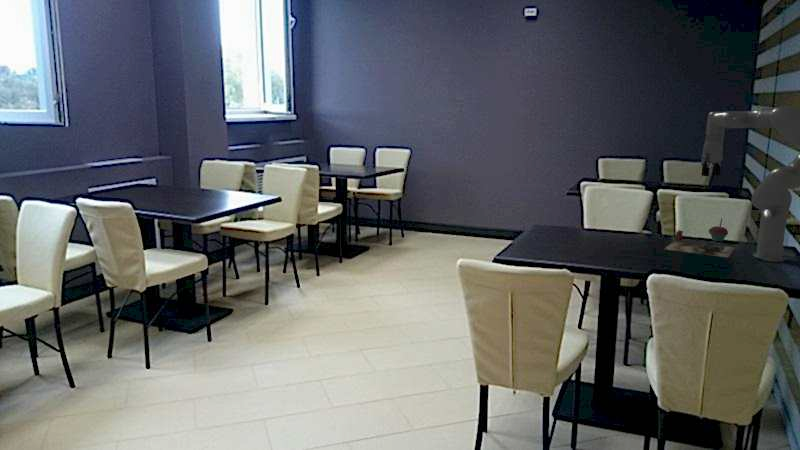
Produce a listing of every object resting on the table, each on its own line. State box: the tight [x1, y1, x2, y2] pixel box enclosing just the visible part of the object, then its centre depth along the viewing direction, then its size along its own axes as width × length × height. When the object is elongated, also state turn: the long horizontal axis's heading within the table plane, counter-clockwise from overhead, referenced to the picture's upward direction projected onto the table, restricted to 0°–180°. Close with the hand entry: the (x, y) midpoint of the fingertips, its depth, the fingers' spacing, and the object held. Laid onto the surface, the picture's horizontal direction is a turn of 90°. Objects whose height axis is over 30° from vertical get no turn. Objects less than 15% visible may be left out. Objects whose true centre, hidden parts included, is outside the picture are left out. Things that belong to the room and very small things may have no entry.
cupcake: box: [708, 218, 729, 243], centre depth 298 cm, size 9×8×12 cm
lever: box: [674, 229, 724, 251], centre depth 278 cm, size 22×5×6 cm, turn 35°
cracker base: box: [664, 238, 736, 258], centre depth 277 cm, size 26×24×3 cm
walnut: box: [701, 242, 711, 252], centre depth 269 cm, size 4×4×4 cm
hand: (710, 175), depth 284 cm, fingers open, 9 cm apart
